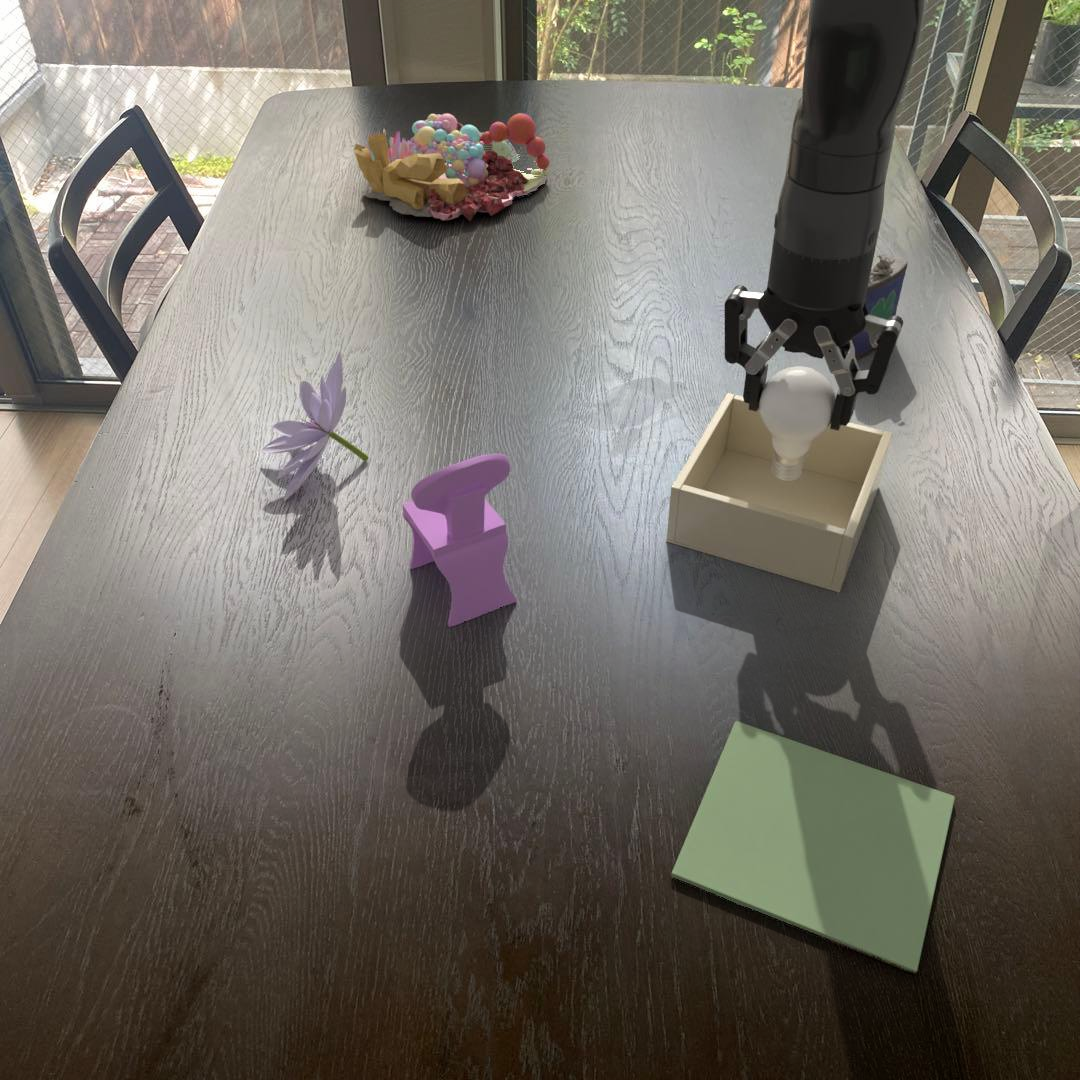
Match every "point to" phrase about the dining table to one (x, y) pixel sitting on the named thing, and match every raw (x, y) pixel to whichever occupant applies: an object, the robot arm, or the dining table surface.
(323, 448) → the water lily
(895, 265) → the flask
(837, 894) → the mat
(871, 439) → the open wooden box
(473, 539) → the toy chair
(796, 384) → the lightbulb
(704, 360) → the dining table surface
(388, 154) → the candy landscape model
